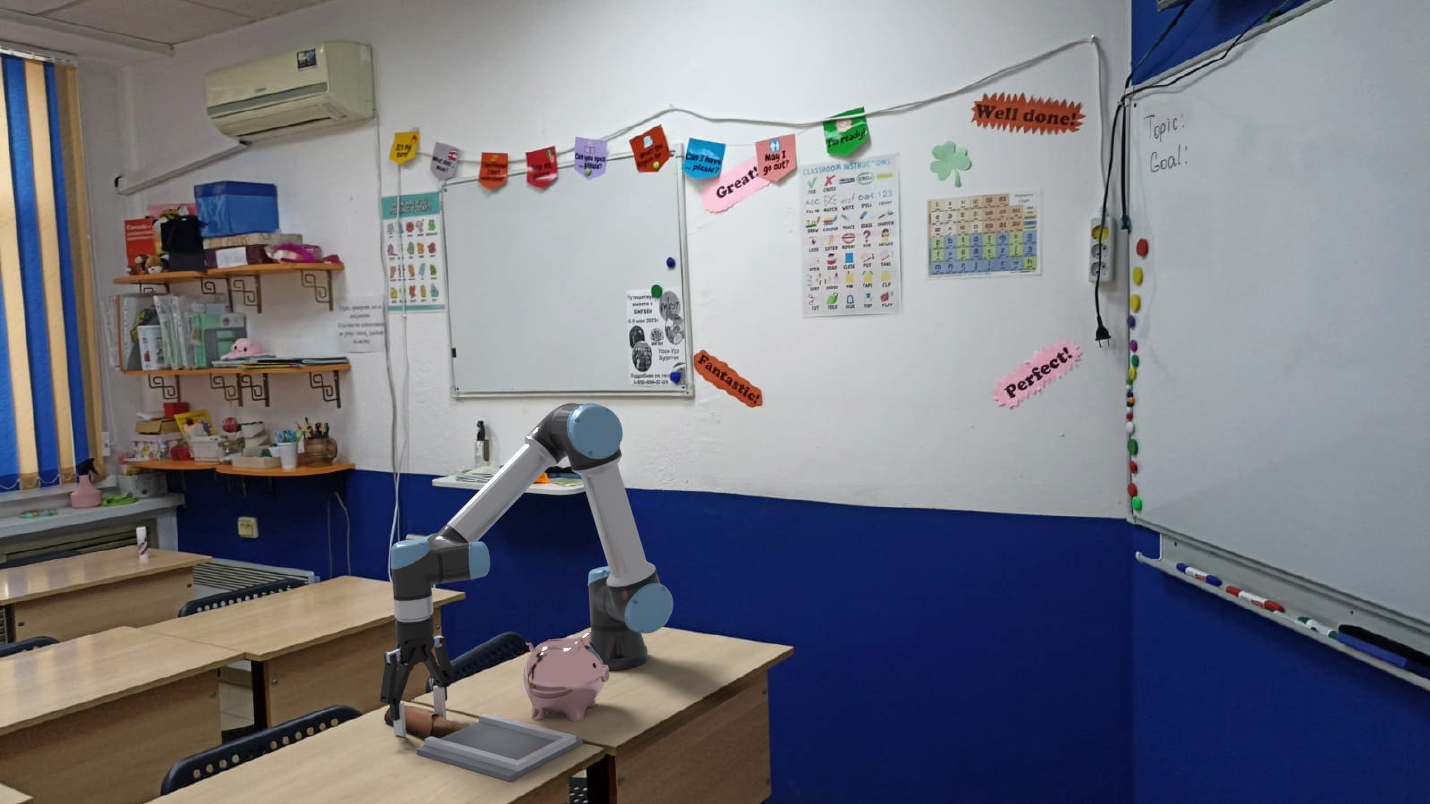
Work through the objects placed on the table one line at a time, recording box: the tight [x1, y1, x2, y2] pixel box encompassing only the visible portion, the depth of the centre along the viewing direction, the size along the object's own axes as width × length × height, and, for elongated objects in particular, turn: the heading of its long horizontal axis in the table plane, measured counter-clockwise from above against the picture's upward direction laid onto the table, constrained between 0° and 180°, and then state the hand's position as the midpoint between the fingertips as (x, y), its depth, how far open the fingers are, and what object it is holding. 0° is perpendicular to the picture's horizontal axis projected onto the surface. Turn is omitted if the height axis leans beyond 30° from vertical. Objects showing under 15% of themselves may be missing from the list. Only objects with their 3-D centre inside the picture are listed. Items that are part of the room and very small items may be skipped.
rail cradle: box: [416, 713, 584, 782], centre depth 186 cm, size 19×25×2 cm
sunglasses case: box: [383, 704, 463, 739], centre depth 199 cm, size 18×7×7 cm, turn 48°
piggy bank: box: [522, 631, 610, 722], centre depth 204 cm, size 15×18×16 cm
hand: (420, 726), depth 199 cm, fingers open, 9 cm apart
